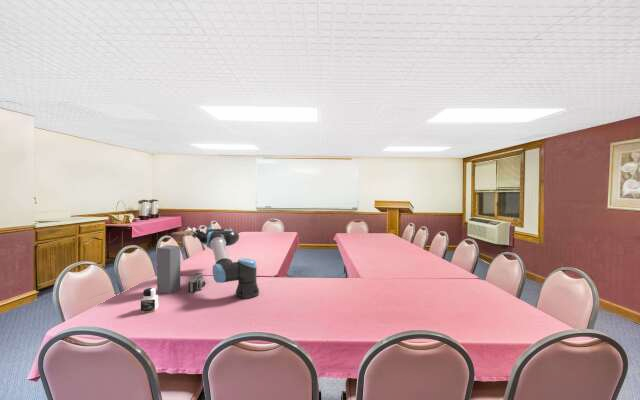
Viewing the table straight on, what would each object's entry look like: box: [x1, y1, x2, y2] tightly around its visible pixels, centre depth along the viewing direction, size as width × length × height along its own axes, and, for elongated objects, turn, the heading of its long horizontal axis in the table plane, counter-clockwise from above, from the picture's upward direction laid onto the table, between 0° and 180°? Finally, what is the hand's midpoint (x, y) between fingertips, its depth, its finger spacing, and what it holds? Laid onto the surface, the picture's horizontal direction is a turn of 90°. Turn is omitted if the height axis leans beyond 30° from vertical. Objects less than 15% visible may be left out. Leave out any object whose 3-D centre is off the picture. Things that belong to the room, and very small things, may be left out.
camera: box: [187, 272, 206, 294], centre depth 198 cm, size 14×8×10 cm, turn 1°
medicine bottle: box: [140, 287, 159, 314], centre depth 163 cm, size 7×7×12 cm
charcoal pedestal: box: [156, 244, 181, 295], centre depth 194 cm, size 10×10×30 cm
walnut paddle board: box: [170, 230, 195, 238], centre depth 213 cm, size 21×11×2 cm, turn 169°
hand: (190, 228), depth 217 cm, fingers closed on walnut paddle board, 3 cm apart
